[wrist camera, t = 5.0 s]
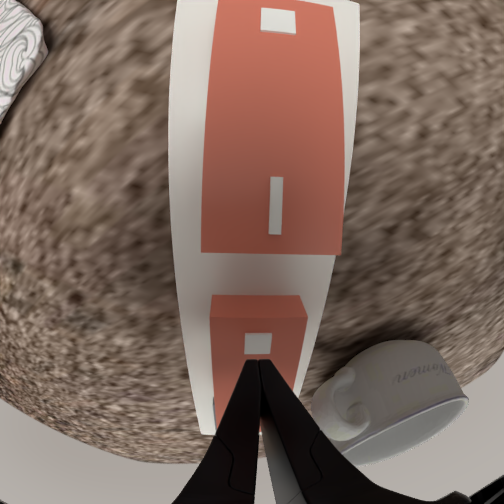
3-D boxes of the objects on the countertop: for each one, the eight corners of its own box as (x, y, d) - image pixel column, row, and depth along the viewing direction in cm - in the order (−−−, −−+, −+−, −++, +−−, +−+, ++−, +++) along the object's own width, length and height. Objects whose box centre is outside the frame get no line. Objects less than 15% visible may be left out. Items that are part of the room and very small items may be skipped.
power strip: (332, -54, 7) (357, -87, 3) (281, 405, 22) (287, 442, 19) (202, -66, 6) (195, -105, 3) (203, 405, 22) (200, 444, 18)
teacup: (438, 351, 21) (475, 411, 14) (352, 411, 24) (371, 475, 17) (380, 270, 16) (448, 362, 9) (258, 365, 19) (269, 464, 12)
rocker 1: (319, 30, 7) (333, 5, 6) (322, 246, 9) (342, 255, 7) (220, 21, 7) (219, -8, 6) (206, 244, 8) (200, 253, 7)
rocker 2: (299, 295, 12) (308, 318, 10) (279, 409, 14) (283, 432, 13) (212, 294, 11) (209, 319, 10) (217, 410, 14) (217, 433, 13)
